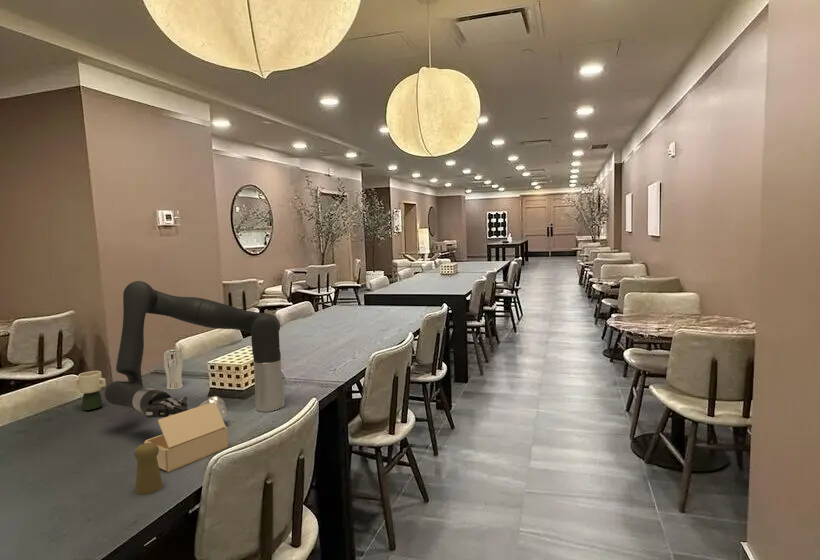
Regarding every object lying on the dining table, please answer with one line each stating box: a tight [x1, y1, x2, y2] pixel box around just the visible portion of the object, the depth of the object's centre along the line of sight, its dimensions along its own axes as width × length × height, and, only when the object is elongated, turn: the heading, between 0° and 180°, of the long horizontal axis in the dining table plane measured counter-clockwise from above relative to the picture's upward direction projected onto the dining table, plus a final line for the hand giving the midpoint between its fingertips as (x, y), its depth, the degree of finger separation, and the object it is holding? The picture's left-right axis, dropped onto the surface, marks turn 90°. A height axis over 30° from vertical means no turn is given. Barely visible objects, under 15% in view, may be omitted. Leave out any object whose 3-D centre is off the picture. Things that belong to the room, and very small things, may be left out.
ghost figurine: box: [198, 395, 228, 420], centre depth 162 cm, size 9×10×10 cm
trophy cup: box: [74, 370, 107, 411], centre depth 181 cm, size 11×7×13 cm, turn 88°
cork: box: [134, 443, 164, 496], centre depth 123 cm, size 6×6×11 cm
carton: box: [143, 426, 229, 473], centre depth 142 cm, size 19×12×6 cm, turn 146°
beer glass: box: [163, 349, 184, 391], centre depth 205 cm, size 7×7×15 cm
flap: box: [157, 402, 227, 448], centre depth 139 cm, size 17×1×8 cm
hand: (184, 412), depth 141 cm, fingers closed
